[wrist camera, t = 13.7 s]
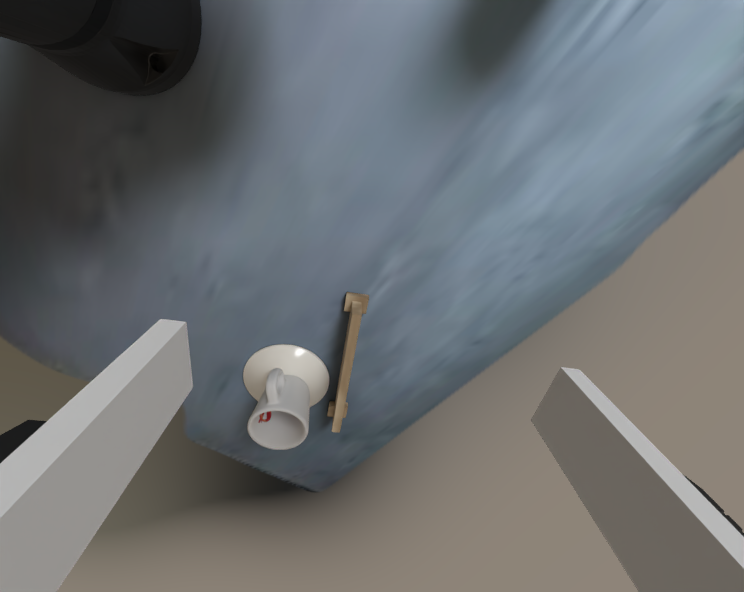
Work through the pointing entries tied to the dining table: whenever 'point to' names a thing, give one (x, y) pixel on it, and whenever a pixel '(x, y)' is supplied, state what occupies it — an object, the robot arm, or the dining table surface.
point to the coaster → (286, 369)
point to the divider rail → (347, 356)
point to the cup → (281, 412)
